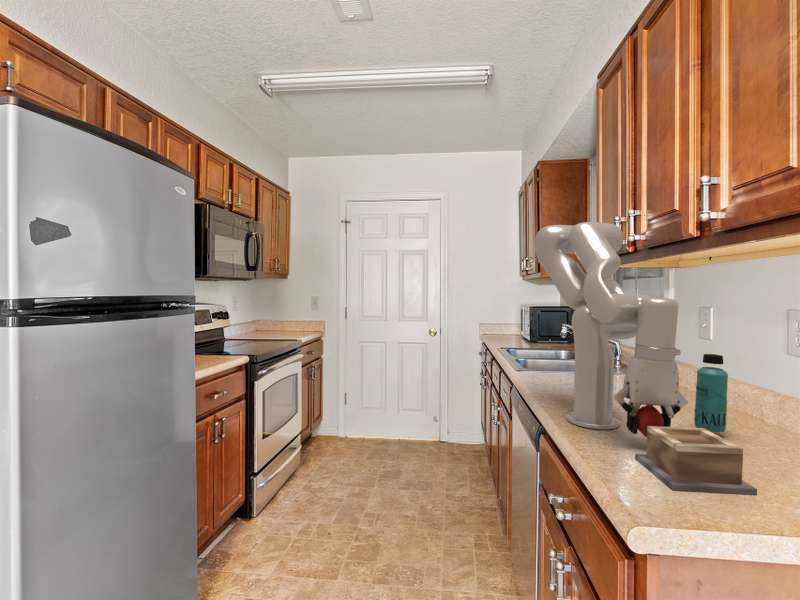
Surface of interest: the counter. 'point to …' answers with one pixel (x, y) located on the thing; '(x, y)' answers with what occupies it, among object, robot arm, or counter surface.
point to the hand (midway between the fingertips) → (647, 431)
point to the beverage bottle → (711, 396)
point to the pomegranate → (648, 418)
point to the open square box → (694, 460)
